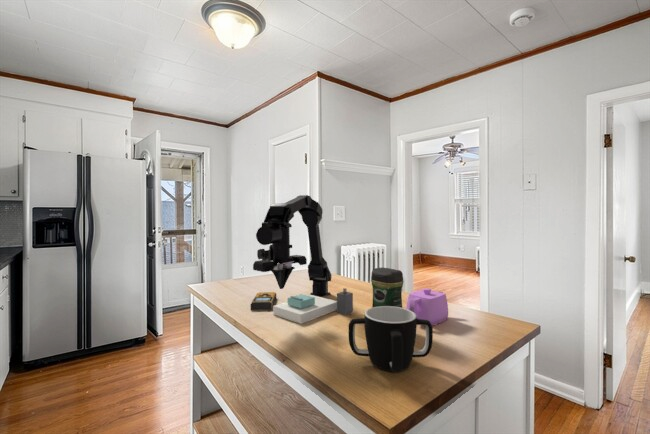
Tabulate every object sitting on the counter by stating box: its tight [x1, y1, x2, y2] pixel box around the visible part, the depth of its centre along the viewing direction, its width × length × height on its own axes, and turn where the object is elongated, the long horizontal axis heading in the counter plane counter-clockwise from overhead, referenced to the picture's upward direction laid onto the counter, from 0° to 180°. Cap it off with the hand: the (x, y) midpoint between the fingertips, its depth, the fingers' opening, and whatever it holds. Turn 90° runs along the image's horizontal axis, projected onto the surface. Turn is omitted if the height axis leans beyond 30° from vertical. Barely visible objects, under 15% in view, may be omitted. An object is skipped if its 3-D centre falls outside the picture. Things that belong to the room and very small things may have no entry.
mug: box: [348, 306, 434, 373], centre depth 74 cm, size 16×16×12 cm
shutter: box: [287, 293, 315, 309], centre depth 111 cm, size 7×7×3 cm
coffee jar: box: [370, 267, 404, 308], centre depth 97 cm, size 10×8×19 cm
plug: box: [336, 287, 354, 316], centre depth 112 cm, size 4×4×9 cm
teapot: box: [405, 287, 449, 327], centre depth 105 cm, size 18×10×10 cm, turn 129°
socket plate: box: [272, 294, 337, 325], centre depth 113 cm, size 19×14×3 cm
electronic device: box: [250, 291, 277, 311], centre depth 123 cm, size 8×16×3 cm, turn 2°
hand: (281, 288), depth 104 cm, fingers closed
